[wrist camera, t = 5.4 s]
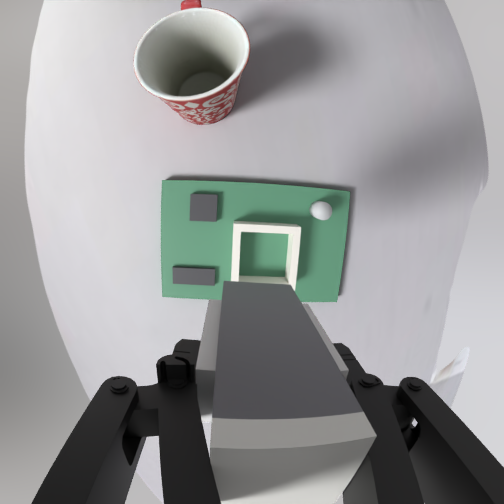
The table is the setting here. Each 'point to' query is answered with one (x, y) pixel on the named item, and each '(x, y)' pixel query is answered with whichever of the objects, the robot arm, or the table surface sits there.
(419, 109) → the table surface
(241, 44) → the mug
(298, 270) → the board
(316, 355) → the plug
